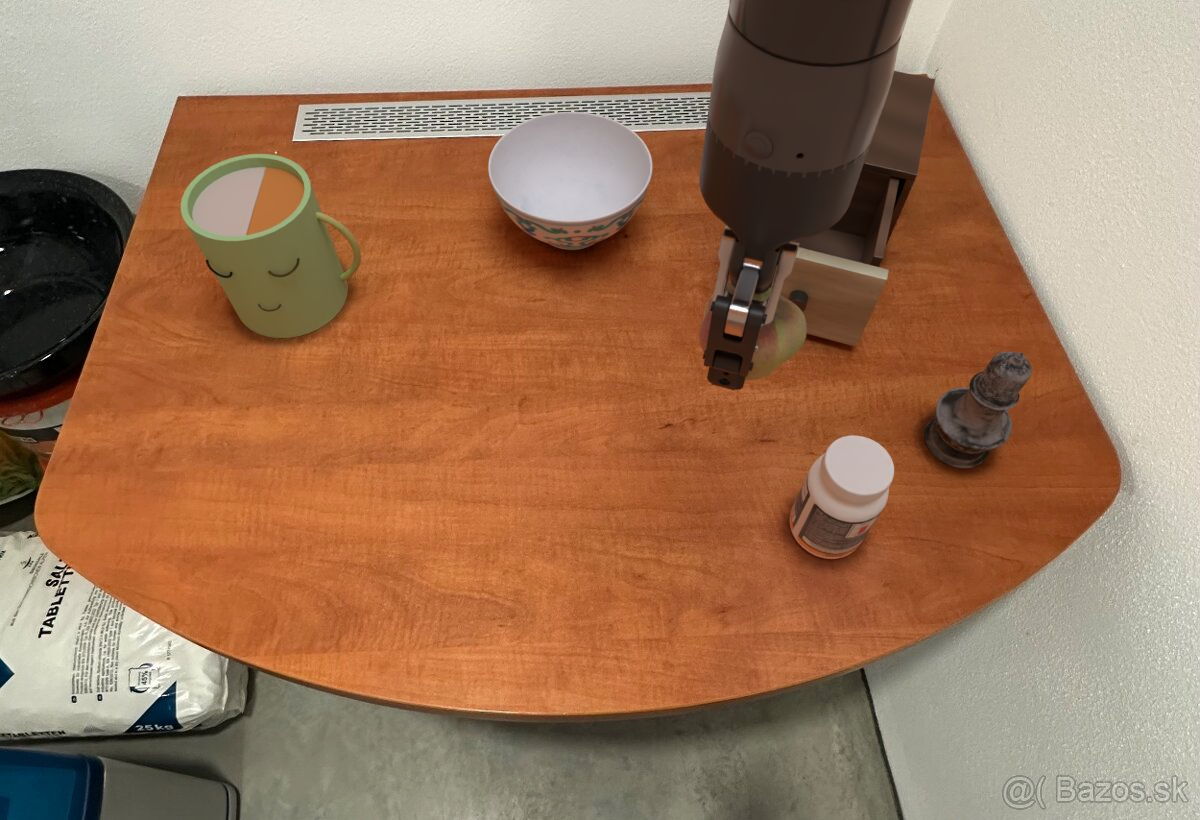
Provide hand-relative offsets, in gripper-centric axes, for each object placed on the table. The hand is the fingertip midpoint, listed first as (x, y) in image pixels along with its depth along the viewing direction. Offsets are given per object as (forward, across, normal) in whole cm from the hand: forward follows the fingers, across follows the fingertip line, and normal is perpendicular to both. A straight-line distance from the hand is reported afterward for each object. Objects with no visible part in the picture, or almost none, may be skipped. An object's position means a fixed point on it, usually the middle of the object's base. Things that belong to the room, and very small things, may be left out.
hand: (737, 340), depth 50 cm
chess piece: (+17, +10, -19) cm, 28 cm away
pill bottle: (+17, -2, -10) cm, 20 cm away
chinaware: (+17, +23, +20) cm, 35 cm away
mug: (+17, +6, +40) cm, 44 cm away
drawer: (+16, +22, -3) cm, 28 cm away
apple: (+2, 0, 0) cm, 2 cm away
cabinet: (+17, +36, -4) cm, 40 cm away
